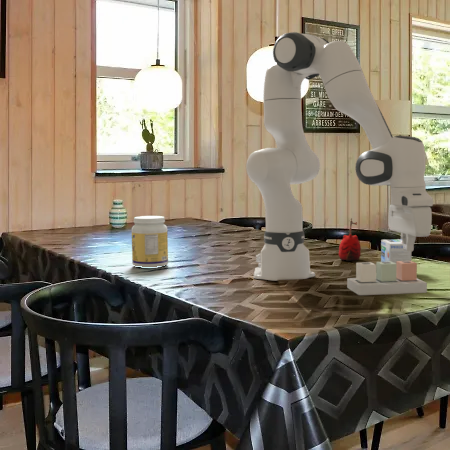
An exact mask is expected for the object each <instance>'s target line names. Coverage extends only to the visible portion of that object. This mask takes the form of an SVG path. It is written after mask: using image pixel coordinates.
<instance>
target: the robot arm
mask: <svg viewBox="0 0 450 450" xmlns="http://www.w3.org/2000/svg"><path fill="white" fill-rule="evenodd" d="M272 55H273V60H274V63H272V64H271V65H269V66H268V68H267V69H266V71H265V76H264V83H263V125H264V129H265V130H266V132H268V133H269V134H270V135H271V136H272V138H273V139H274V141H275V146H276V147H266V148H262V149H257V150H255V151H253V152H252V153H250V154H249V155H248V157H247V160H246V164H245V171H246V174H247V176H248V179H249V180H250V181H251V182H252V183H254V185H255V186H256V187H257V189H258V190H259V192H260V195H261V197H262V201H263V204H264V212H265V213H264V214H265V217H264V218H265V231H264V235H263V243H264V245H263V247H262V249H261V250H260V253H258V254H256V255H255V257H256V258H255V262H256V263H258V264H257V267H255V268H254V272H253V279H258V280H266V281H267V280H268V281H273V282H274V281H276V282H277V281H279V280H280V281H281V280H303V279H304V280H305V279H309V278H313V277H315V276H316V273H315V271H314V272H313V271H311V263H310V250H309V249H308V247H306V245H305V244H304V242H305V231H304V230H303V204H302V203H301V202H300V201H299V200H298V199H296V198H295V196H294V193H293V192H292V189H291V188H292V187H291V185H302V184H304V183H307V182H308V183H309V182H310V181H313V180H314V179H315V178H316V177H317V176H318V174H319V172H320V169H321V167H320V166H321V164H320V159H319V156H318V154H317V153H315V151H313V149H312V148H311V147H310V145H309V142H308V140H307V138H306V135H305V132H304V128H303V115H302V114H303V113H302V92H301V91H302V90H301V89H302V84H303V81H304V80H308V81H309V80H313V79H315V78H317V77H319V76H320V78H321V81H322V83H323V86H324V87H323V88H324V91H325V92H326V95H327V97H328V100H329V101H330V103H331V104H332V106H333V107H334V108H335V110H337V111H338V112H340V113H341V114H344V115H345V116H348V117H349V118H351V119H353V120H354V121H355V122H357V123H358V124H359V125H360V127H362V129H363V131H364V132H365V135H366V137H367V140H368V141H369V144H370V145H371V148H372V149H369V150H366V151H364V152H363V153H361V154H360V155H359V156H358V158H357V159H356V163H355V174H356V177H357V178H358V179H359V181H360V182H361V183H363V184H365V185H368V186H373V187H375V186H376V187H377V186H381V187H382V186H389V187H390V205H389V206H388V207H389V208H388V218H387V219H388V220H387V221H388V223H387V225H388V229H389V230H390V231H393V232H397V233H400V239H402V243H403V250H406V251H411V252H413V251H414V248H415V246H414V245H415V242H416V239H417V237H421V238H422V237H423V238H424V237H429V236H430V234H431V232H432V231H431V230H432V221H433V219H432V218H433V217H432V215H433V214H432V208H431V207H433V205H434V198H433V197H432V196H431V195H430V194H429V193H428V192H427V189H426V188H427V187H426V182H425V173H426V168H427V166H426V153H425V146H424V142H423V141H422V140H421V139H420V138H419V137H415V136H409V135H395V136H394V135H393V134H392V132H391V130H390V127H389V126H388V124H387V123H388V122H387V121H386V118H385V117H384V115H383V113H382V111H381V110H380V108H379V106H378V104H377V102H376V99H375V98H374V96H373V93H372V92H371V89H370V87H369V84H368V82H367V79H366V77H365V74H364V71H363V70H362V66H361V64H360V62H359V60H358V58H357V56H356V54H355V53H354V51H353V50H352V48H351V46H350V45H349V44H348V43H347V42H346V41H343V40H333V41H329V40H327V39H325V38H322V37H319V36H316V35H314V34H309V33H306V34H305V33H300V32H296V31H294V32H293V31H291V32H287V33H283V34H281V35H280V36H279V37H278V38H277V39H276V41H275V43H274V44H273V49H272Z"/></svg>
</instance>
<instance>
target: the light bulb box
mask: <svg viewBox="0 0 450 450" xmlns="http://www.w3.org/2000/svg"><path fill="white" fill-rule="evenodd" d="M380 241H381V242H380V249H381V250H380V253H381V254H380V262H390V261H391V262H393V263H396V261H412V251H406V250H403V243H402V239H401V238H400V239H399V238H397V239H381V240H380Z"/></svg>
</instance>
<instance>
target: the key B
mask: <svg viewBox="0 0 450 450" xmlns="http://www.w3.org/2000/svg"><path fill="white" fill-rule="evenodd" d="M375 264H376V279H378V280H380V281H396V268H397V264H396V263H393V262H391V261H390V262H381V261H376V263H375Z"/></svg>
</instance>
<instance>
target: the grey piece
mask: <svg viewBox="0 0 450 450" xmlns="http://www.w3.org/2000/svg"><path fill="white" fill-rule="evenodd" d="M346 281H347V283H346V284H347V285H346V287H347V289H348V290H350V291H351V292H353V293H355V294H356V295H357V296H373V295H374V296H376V295H378V296H379V295H402V294H421V293H423V294H424V293H426V294H427V292H428V290H427V289H428V282H426V281H424V280H421V279H419V278H417V280H407V281H402V280H399V279H397V278H396V281H380V280H378V279H376V282H360V281H358V280H356V277H349V278H348V277H347V280H346Z"/></svg>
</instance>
